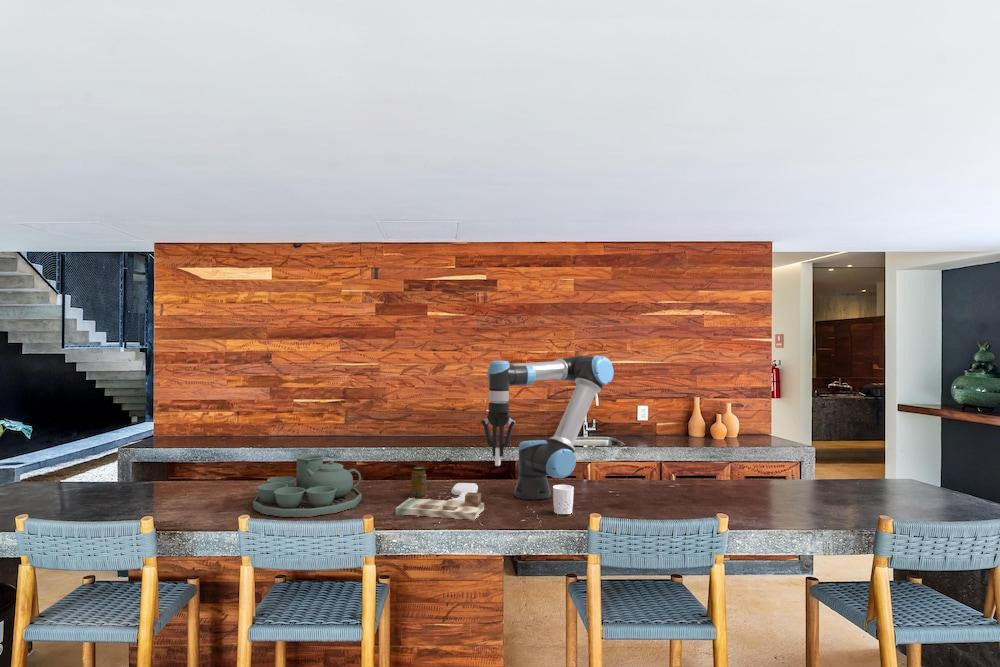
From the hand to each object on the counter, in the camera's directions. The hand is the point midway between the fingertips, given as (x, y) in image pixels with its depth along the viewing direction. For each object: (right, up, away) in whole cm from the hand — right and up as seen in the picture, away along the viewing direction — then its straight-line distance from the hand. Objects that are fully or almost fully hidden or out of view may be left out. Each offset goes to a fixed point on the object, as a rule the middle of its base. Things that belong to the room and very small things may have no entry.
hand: (497, 465), depth 229 cm
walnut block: (-9, -15, +2) cm, 18 cm away
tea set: (-74, -18, +9) cm, 76 cm away
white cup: (+24, -19, 0) cm, 31 cm away
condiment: (-32, -18, +22) cm, 43 cm away
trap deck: (-21, -18, 0) cm, 28 cm away
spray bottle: (-15, -19, +26) cm, 35 cm away
